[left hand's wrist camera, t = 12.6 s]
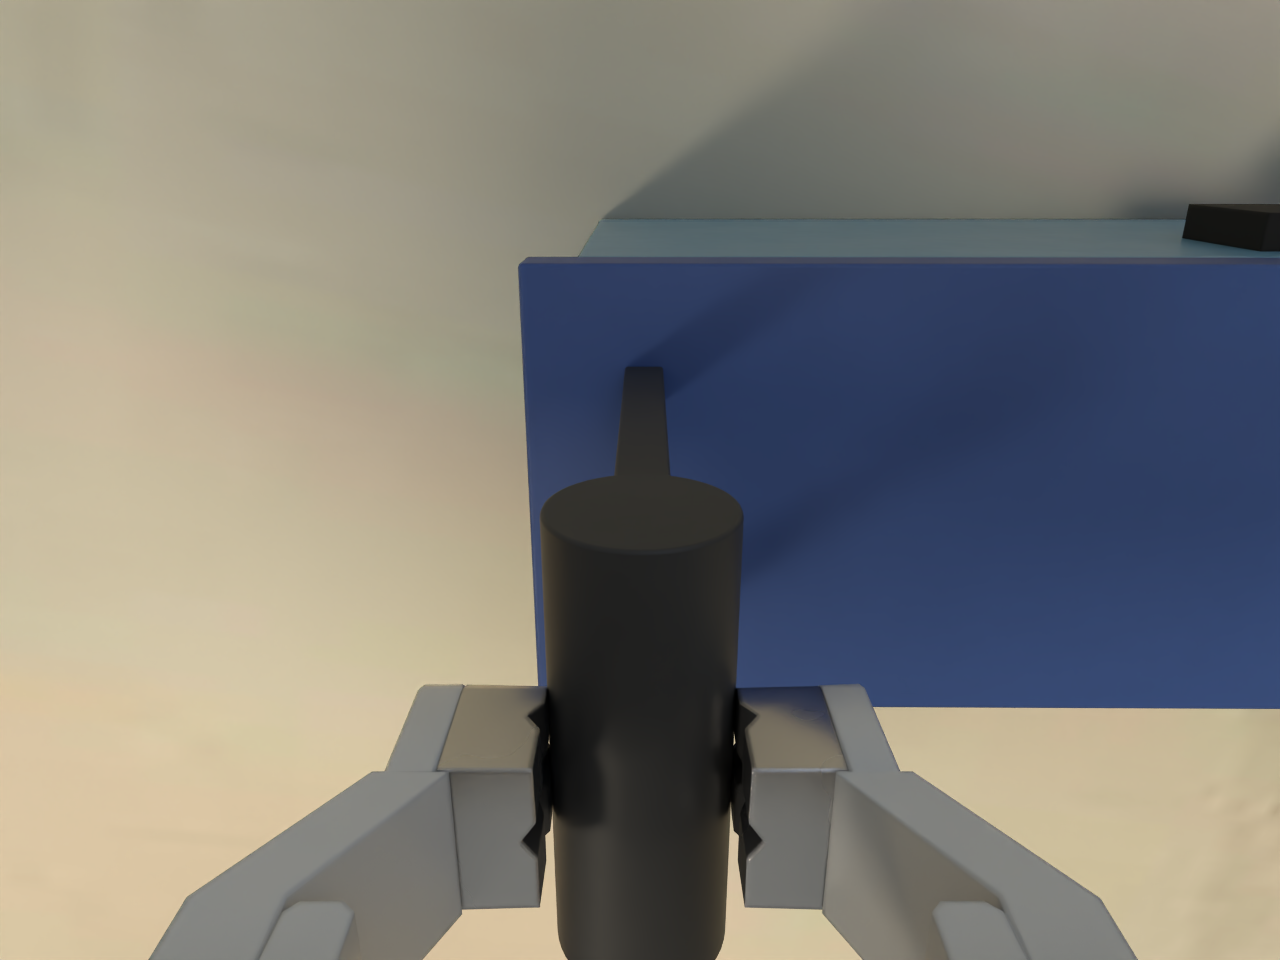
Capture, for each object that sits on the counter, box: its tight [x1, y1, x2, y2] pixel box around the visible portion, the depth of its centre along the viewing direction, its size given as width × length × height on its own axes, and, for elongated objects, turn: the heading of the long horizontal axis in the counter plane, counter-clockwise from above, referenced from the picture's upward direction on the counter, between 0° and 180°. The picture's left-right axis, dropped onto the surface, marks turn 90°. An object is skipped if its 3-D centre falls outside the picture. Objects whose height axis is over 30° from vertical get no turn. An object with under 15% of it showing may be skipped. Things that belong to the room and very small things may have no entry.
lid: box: [518, 257, 1280, 960], centre depth 14 cm, size 18×9×9 cm, turn 90°
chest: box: [578, 219, 1280, 258], centre depth 22 cm, size 17×9×9 cm, turn 90°
